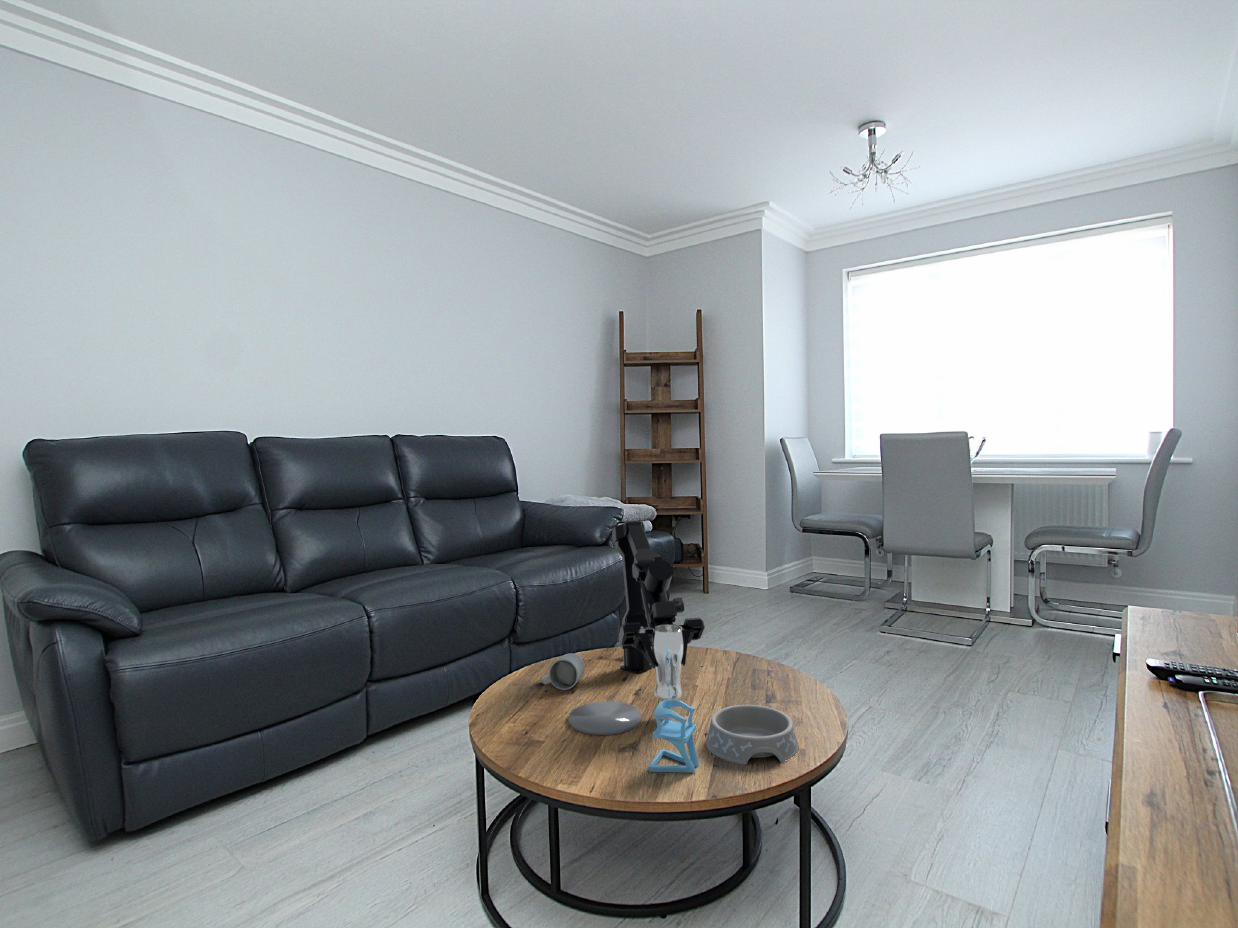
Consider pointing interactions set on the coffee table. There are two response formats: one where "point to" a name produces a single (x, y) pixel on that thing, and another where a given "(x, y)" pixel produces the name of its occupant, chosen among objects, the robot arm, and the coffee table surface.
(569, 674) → the ceramic mug
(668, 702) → the chair
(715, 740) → the dog bowl
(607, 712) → the coaster board
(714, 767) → the coffee table surface
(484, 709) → the coffee table surface
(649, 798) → the coffee table surface
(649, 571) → the robot arm
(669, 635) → the chrome tumbler cup
